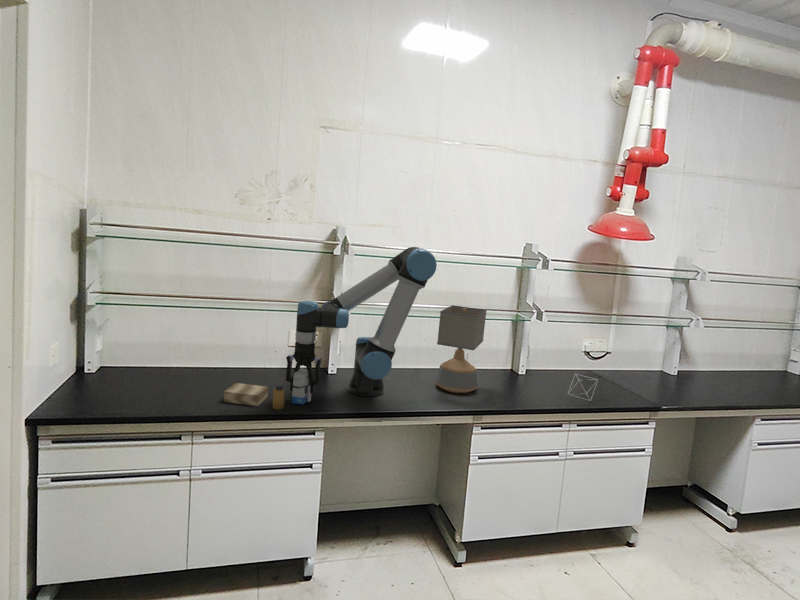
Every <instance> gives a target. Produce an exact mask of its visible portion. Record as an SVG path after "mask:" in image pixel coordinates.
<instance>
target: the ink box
mask: <svg viewBox="0 0 800 600" xmlns="http://www.w3.org/2000/svg"><path fill="white" fill-rule="evenodd" d="M293 373H294V377H293V391H291V392H292V394H291V395H292V396H291V404H297V405H305V403H308V402H307V397H308V385H309V384H310V381H309V376H308V371H307V368H303V367H302V368H301V367H300V368H299V370H298V371H297V372H294V371H293Z"/></svg>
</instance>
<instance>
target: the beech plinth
mask: <svg viewBox="0 0 800 600" xmlns="http://www.w3.org/2000/svg"><path fill="white" fill-rule="evenodd" d="M268 396H269V386H265V385H257V384H249V383H248V384H247V383H240V382H235V383H234V384H232V385H231V386H229V387H228V388H227V389H225V390H223V402H224V403H232V404H239V405H248V406H254V407H258V406H259V405H260V404H261V403H262V402H263V401H265V400H266V399H268Z"/></svg>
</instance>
